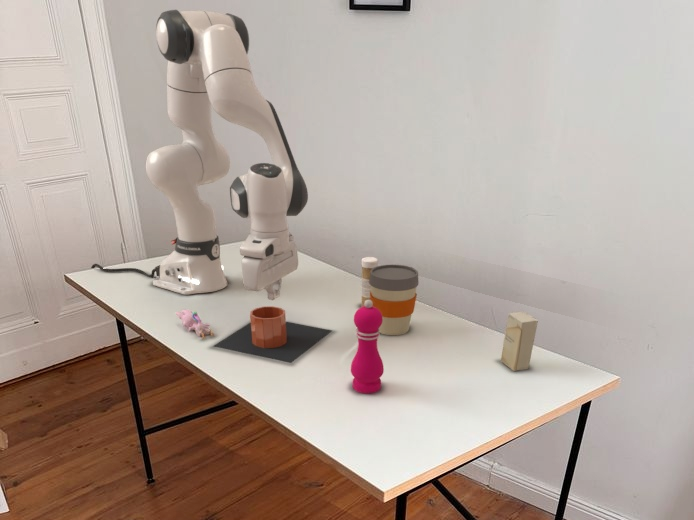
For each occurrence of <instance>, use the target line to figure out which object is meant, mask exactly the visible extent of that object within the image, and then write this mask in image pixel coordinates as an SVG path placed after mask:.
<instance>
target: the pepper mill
mask: <svg viewBox="0 0 694 520" xmlns="http://www.w3.org/2000/svg"><path fill="white" fill-rule="evenodd" d="M364 305H365V306H363V307H362V306H361V307H359V308H358V309H357V310H356V311H355V313H354V315H353V323H354V325H355V327H356V330H355V332H356V333H355V336H356V338H357V339H358V344H357V350H356V353H355V355H354V357H353V359H352V361H351V365H350V374H351V375H352V377H353V378H352V389H353V390H354V391H355V392H356V393H359V394H374V393H377V392H379V391H380V390H381V388H382V379H381V377H382V376H383V375H384V372H385V371H384V362H383V359H382V357H381V355H380V352H379V350H378V339H379V338H380V334H381V333H379V332H380V330H379V327H380V326H381V324H382V314H381V312H380V311H379V310H378V309H377V308H375V307H373V302H372V301H371V300H366V301H365V303H364Z"/></svg>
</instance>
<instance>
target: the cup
mask: <svg viewBox="0 0 694 520" xmlns="http://www.w3.org/2000/svg"><path fill="white" fill-rule="evenodd" d="M249 317H250V318H249V319H250V323H251V332H252V343H253V344H254V345H255V346H257V347H261V348H276V347H280V346H283V345H284V344H285V343H287V336H286V322H287V318H286V317H287V316H286V310H285V309H284V308H282V307H278V306H270V305H269V306H260V307H259V306H258V307H255V308H253V309H252V310H251V311H249Z"/></svg>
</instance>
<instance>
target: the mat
mask: <svg viewBox="0 0 694 520" xmlns="http://www.w3.org/2000/svg"><path fill="white" fill-rule="evenodd" d="M332 332H333V330H331V329H327V328H321V327H317V326H311V325H306V324H300V323H296V322H295V323H294V322H290V321H286V336H287V343H285V344H284V345H283V346H280V347H276V348H261V347H257V346H255V345H254V344H253V343H252V332H251V322H249V323H247V324H246V325H244V326H243V327H241V328H239V329H238V330H236V331H235V332H233V333H231V334H230V335H228V336H227V337H225V338H223V339H222V340H220V341H219V342H217V343H215V344H214V345H213V348H219V349H224V350H228V351H232V352H237V353H242V354H247V355H251V356H255V357H260V358H265V359H270V360H275V361H279V362H284V363H289V364H293V362H294V361H296V360H297V359H298V358H299V357H301V356H302V355H304V354H305V353H306V352H307V351H309V350H310V349H311V348H312V347H313V346H315V345H316V344H317V343H319V342H321V340H323V339H324V338H325V337H326V336H328V335H330V333H332Z"/></svg>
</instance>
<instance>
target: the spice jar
mask: <svg viewBox="0 0 694 520" xmlns="http://www.w3.org/2000/svg"><path fill="white" fill-rule="evenodd" d="M360 265H361V284H360V285H361V288H360V289H361V290H360V291H361V293H360V294H361V303H360V306H361V307H363V306H365V305H364V303H365V301H366V300H370V292H371V285H370V284H369V278H370V271H371V269H373V268H374V267H377V266H379V259H378V257H373V256H365V257H362V258H361V264H360Z"/></svg>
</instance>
